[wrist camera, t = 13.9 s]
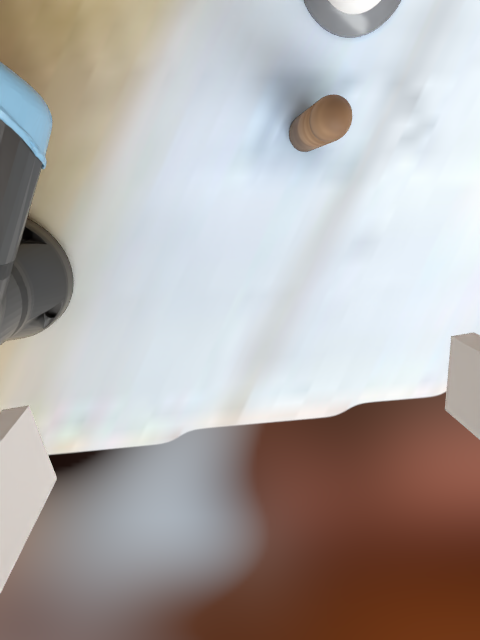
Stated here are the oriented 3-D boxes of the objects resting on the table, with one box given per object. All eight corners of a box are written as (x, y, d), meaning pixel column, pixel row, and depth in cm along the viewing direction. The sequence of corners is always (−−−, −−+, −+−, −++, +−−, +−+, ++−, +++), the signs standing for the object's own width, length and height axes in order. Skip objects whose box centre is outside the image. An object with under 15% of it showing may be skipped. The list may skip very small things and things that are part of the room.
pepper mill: (290, 153, 43) (317, 141, 33) (287, 116, 42) (315, 91, 32) (322, 149, 43) (359, 136, 34) (321, 112, 42) (359, 87, 32)
